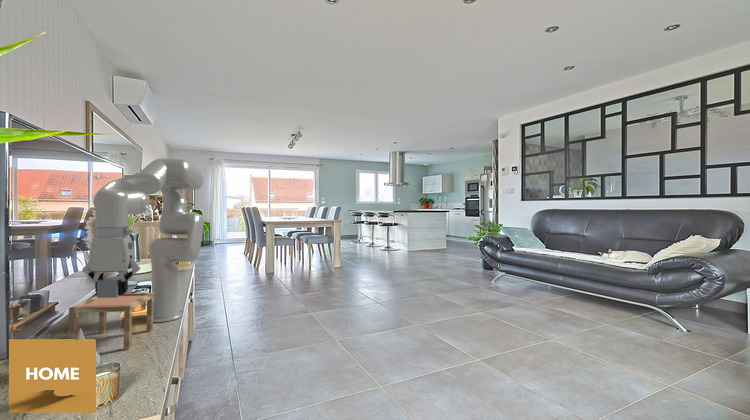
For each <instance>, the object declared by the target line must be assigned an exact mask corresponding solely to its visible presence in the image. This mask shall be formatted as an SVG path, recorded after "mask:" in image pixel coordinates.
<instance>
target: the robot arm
mask: <svg viewBox="0 0 750 420" xmlns="http://www.w3.org/2000/svg"><path fill="white" fill-rule="evenodd" d="M203 184H204V176H203V174H202V172H201V171H200V169H198V168H197V167H196V166H195V165H193V163H191V162H190V161H188V160H186V159H182V158H181V159H179V158H176V159H175V158H156V159H154V160H153V161H151V162H150V163H148V164H147V165H146V166H145V167H144V168H142V170H141V171H139V172H137V173H133V174H130V175H127V176H124V177H120V178H117V179H114V180H111V181H110V182H108V183H106V184H105V185H103V186H102V187H101V188H100V189H99V190H98V191H97V192H96V193H95V195H94V198H93V204H92V205H93V208H94V209H95V237H93V238H92V241H91V245H90V250H89V260H88V262H87V264H85V265H84V267H83V268H82V269H81V270H82V272H84V273H85V274H86V275H88V277H90V278H91V279H92V281H93V283H95V285H94V286H95V287H94V291H95V294H96V295H95V296H97V281H98V280H100V279H103V278H105V274H106V272H107V273H118V274H117V275H118V277H120V282H119V295H123V294H125V293H128V292H127V291H128V290H129V285H128V284H129V283H128V282H129V279H130V278H131V277H133V276H134V275H135V274H136V273H138V272H139V271H140V270H141V267H140V265H139V264H137V262H136V261H135V252H134V251H135V250H134V245H133V238H132V237H131V236H129V235H130V234H131V235H132V234H133V232H134V231H133V229H132V228H131V229H130V228H129V226H128V225H129V219H128V218H129V215H134V216H135V215H142V214H143V213H146V212H147V210H148V209H149V208H150V204H151V202H150V201H151V200H150V198H149V195H153V194H156V193H158V192H159V191H160V192H161V195H162V198H163V204H162V209H161V215H160V219H159V224H158V229H159V232H160V233H161V234H163V235H166V236H176V237H159V238H156V239H154V240H152V242H151V243H150V245H149V247H148V248H149V249H148V251H149V258H150V263H151V293H154V309H153V323H165V322H171V321H175V320H179V319H181V318H182V317H183V316H184V314H185V312H184V311H183V310H180V305H181V301H180V296H181V293H180V291H181V290H180V287H181V286H180V283H181V272H180V269H179V267H178V266H177V264H176V263H191V262H195V261H197V259H198V258H199V255H200V252H201V245H202V239H203V234H204V218H203V217H202V215H201V214H199V213H197V212H187V209H188V207H187V206H188V201H187V199H186V197H185V196H184V195H183V193H181V191H180V190H182V191H197V190H200V189H201V188H202V186H203ZM177 236H180V237H177ZM181 236H184V237H181ZM129 269H131V270H130V271H129Z"/></svg>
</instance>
